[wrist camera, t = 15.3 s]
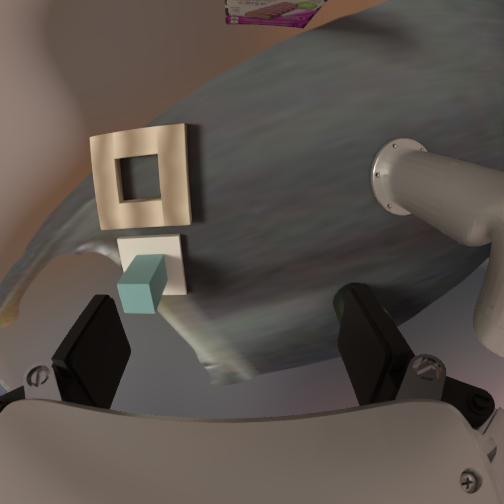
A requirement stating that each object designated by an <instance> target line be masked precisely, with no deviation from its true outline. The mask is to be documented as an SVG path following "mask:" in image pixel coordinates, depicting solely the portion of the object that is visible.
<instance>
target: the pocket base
mask: <svg viewBox="0 0 504 504" xmlns="http://www.w3.org/2000/svg"><path fill="white" fill-rule="evenodd" d="M90 146H91V159H92V169H93V178H94V187H95V194H96V201H97V208H98V214H99V220H100V226H101V230H108V229H123V228H139V227H157V226H176V225H190V224H191V222H192V214H191V200H190V185H189V168H188V147H187V124H174V125H164V126H156V127H148V128H140V129H134V130H127V131H121V132H115V133H109V134H103V135H98V136H93V137H90ZM150 154H158V162H159V176H160V188H161V197H158V198H145V199H133V200H124V196H123V188H122V179H121V168H120V158H125V157H133V156H141V155H150Z"/></svg>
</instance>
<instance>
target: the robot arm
mask: <svg viewBox="0 0 504 504" xmlns="http://www.w3.org/2000/svg"><path fill="white" fill-rule="evenodd" d="M375 174H376V176H375ZM371 186H372V191H373V193H374V196H375V198H376V199H377V201H378V203H379V204H380V205H381V206H382V207H383V208H384V209H386V210H387V211H389V212H391V213H393V214H396V215H409V214H413V215H415V216H417V217H419V218H420V219H422V220H424V221H425V222H427V223H429V224H430V225H432V226H434V227H435V228H437V229H438V230H440V231H442V232H443V233H445V234H446V235H448V236H450V237H451V238H453V239H454V240H456V241H457V242H459V243H461V244H464V245H467V246H480V245H484V244H487V243H490V242H492V247H491V252H490V256H489V263H488V267H487V271H486V274H485V277H484V281H483V284H482V287H481V290H480V293H479V296H478V299H477V302H476V305H475V309H474V313H473V328H474V332H475V334H476V336H477V337H478V339H479V340H480V342H481V343H482V344H483V345H484V346H485V347H486V348H488V349H489V350H491V351H492V352H494V353H496V354H497V355H499V356H502V357H504V172H503V171H499V170H495V169H491V168H487V167H484V166H480V165H477V164H473V163H470V162H466V161H462V160H459V159H455V158H451V157H447V156H443V155H438V154H434V153H430V152H428V151H427V150H426V148H425V147H424V146H423V145H422V144H420V143H419V142H417V141H415V140H412V139H408V138H397V139H394V140H391V141H389V142H388V143H386V144H385V145H384V146H383V147H382V148H381V149H380V150H379V152H378V153H377V155H376V157H375V159H374V161H373V164H372V168H371ZM338 348H339V351H340V354H341V357H342V359H343V362H344V364H345V367H346V370H347V372H348V375H349V378H350V380H351V383H352V386H353V389H354V391H355V394H356V397H357V399H358V402H359V405H360V406H357V407H352V408H346V409H339V410H332V411H324V412H317V413H309V414H300V415H291V416H278V417H263V418H237V419H236V418H235V419H208V418H183V417H182V418H181V417H167V416H156V415H145V414H137V413H129V412H122V411H115V410H110V407H111V404H112V401H113V398H114V396H115V393H116V390H117V388H118V385H119V383H120V380H121V377H122V375H123V372H124V370H125V367H126V365H127V362H128V360H129V357H130V354H131V349H130V345H129V342H128V340H127V337H126V334H125V331H124V329H123V326H122V323H121V320H120V317H119V314H118V311H117V308H116V305H115V302H114V300H113V299H112V298H110V296H109V295H95V296H94V297H93V299H92V300H91V301H90V303H89V304H88V305H87V307H86V308H85V310H84V311H83V312H82V314H81V315H80V316H79V318H78V319H77V321H76V322H75V324H74V325H73V327H72V328H71V329H70V331H69V332H68V334H67V335H66V337H65V338H64V340H63V341H62V343H61V344H60V346H59V347H58V349H57V351H56V352H55V354H54V355H53V357H52V358H51V359H52V361H53V364H52V366H51V365H50V364H47V363H38V364H35V365H33V366H32V367H30V368H29V369H28V370H27V371H26V373H25V375H24V379H23V383H24V385H23V386H21V387H19V388H17V389H15V390H13V391H11V392H9V393H6V394H4V395H2V396H0V504H504V409H502V408H501V407H499V408H498V409H496V408H495V404H494V400H493V398H492V396H491V395H490V394H489V393H488V392H487V391H485V390H483V389H481V388H477V387H475V386H472V385H469V384H466V383H463V382H461V381H458V380H456V379H453V378H450V377H447V376H446V368H445V365H444V364H443V362H442V361H441V360H439V359H438V358H437V357H435V356H432V355H428V354H420V355H418V356H415V355H414V353H413V351H412V350H411V348H410V347H409V345H408V344H407V342H406V340H405V339H404V337H403V336H402V335H401V333H400V331H399V330H398V328H397V327H396V325H395V324H394V322H393V321H392V319H391V318H390V316H389V315H388V314H386V312H385V311H384V309H383V308H382V306H381V305H380V303H379V302H378V300H377V299H376V297H375V296H374V295H373V293H372V292H371V290H370V289H369V287H368V286H367V285H366V284H361V285H352V286H351V288H350V289H348V290H347V291H346V297H345V303H344V310H343V316H342V321H341V327H340V332H339V338H338Z"/></svg>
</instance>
